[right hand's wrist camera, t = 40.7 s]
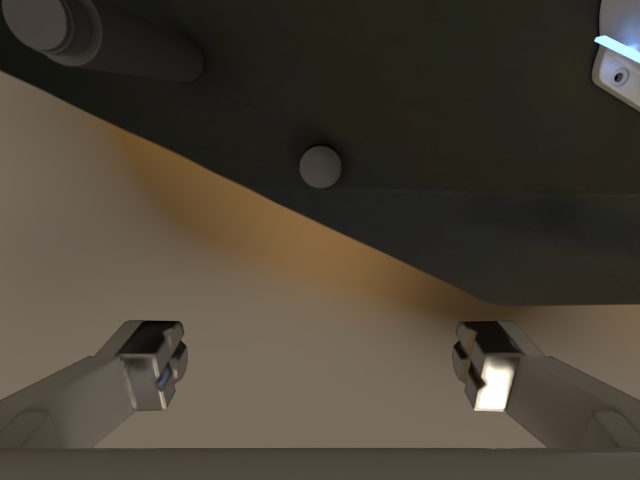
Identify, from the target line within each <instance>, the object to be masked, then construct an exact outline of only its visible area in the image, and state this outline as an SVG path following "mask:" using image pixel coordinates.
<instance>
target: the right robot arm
mask: <svg viewBox="0 0 640 480" xmlns="http://www.w3.org/2000/svg"><path fill="white" fill-rule="evenodd" d="M599 33H600V37H597V38H596V39H595V41H596V42H598V43H600V44H599V50H598V53H597V56H596V59H595V62H594V65H593V69H592V80H593V82H594V83H595V84H596V85H597V86H599V87H600V88H602V89H603V90H605V91H607V92H608V93H610V94H612V95H613V96H615V97H616V98H618V99H620V100H621V101H623V102H624V103H626V104H628V105H629V106H631V107H633V108H634V109H636V110H637V111H639V112H640V0H602V1H601V6H600V14H599ZM616 74H617V76H618V77H617V80H616V81H615V80H614V77H615V75H616ZM183 335H184V330H183V325H182V323H181V322H179V321H144V320H130V321H126V322H124V323H123V325H122V326H121V327H120V328H119V329H118V330H117V331H116V332H115V333H114V334H113V336H112V337H111V338H110V339H109V340H108V341H107V342H106V343H105V344H104V346H103V347H102V348H101V349H100V350H99V351H98V352H97V353H96V355H95V356H88V357H86V358H84V359H82V360H80V361H78V362H76V363H74V364H72V365H70V366H68V367H66V368H64V369H62V370H60V371H58V372H56V373H54V374H52V375H50V376H48V377H46V378H44V379H42V380H40V381H38V382H36V383H34V384H32V385H30V386H28V387H26V388H24V389H22V390H20V391H18V392H16V393H14V394H12V395H10V396H8V397H6V398H4V399H2V400H0V480H640V400H638V399H636V398H634V397H632V396H630V395H628V394H626V393H624V392H622V391H620V390H618V389H616V388H614V387H612V386H610V385H608V384H606V383H604V382H602V381H600V380H598V379H596V378H594V377H592V376H590V375H588V374H586V373H584V372H582V371H580V370H578V369H576V368H574V367H572V366H570V365H568V364H566V363H564V362H562V361H560V360H558V359H556V358H554V357H552V356H545V355H544V353H543V352H542V351H541V350H540V349H539V348H538V347H537V346H536V345H535V343H534V342H533V341H532V340H531V339H530V338H529V337H528V336H527V335H526V333H525V332H524V331H523V330H522V329H521V328H520V327H519V326H518V324H517V323H516V322H514V321H512V320H502V321H471V322H459V323H458V326H457V329H456V335H457V336H458V338H459V341H458V342H457V343H456V344H455V345H454V347H453V355H452V357H453V366H454V370H455V373H456V375H457V377H458V379H459V380H460V381H462V382H463V383H465V384H466V386H465V393H466V395H467V397H468V399H469V401H470V403H471V405H472V407H473V409H474V410H478V411H506V413H507V414H508V415H509V416H510V417H512V418H513V419H514V420H515V421H516V422H518V423H519V424H520V425H521V426H522V427H524V428H525V429H526V430H527V431H528V432H529V433H531V434H532V435H533V436H534V437H535V438H537V439H538V440H539V441H540V442H541V443H543V444H544V445H545V446H546V447H547V448H93V447H94V446H95V445H96V444H98V443H99V442H100V441H101V440H102V439H103V438H105V437H106V436H107V435H108V434H109V433H111V432H112V431H113V430H114V429H115V428H117V427H118V426H119V425H120V424H121V423H123V422H124V421H125V420H126V419H127V418H129V417H130V416H131V415H132V414H133V413H134V411H160V410H166V409H167V407H168V405H169V403H170V401H171V399H172V397H173V395H174V393H175V386H174V384H175V383H177V382H178V381H180V380H181V379H182V377H183V375H184V373H185V370H186V365H187V347H186V345H185V344H184V343H183V342H182V341H181V338H182V337H183Z"/></svg>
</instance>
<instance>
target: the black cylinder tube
mask: <svg viewBox="0 0 640 480" xmlns="http://www.w3.org/2000/svg"><path fill="white" fill-rule="evenodd" d="M2 11H3V15H4V18H5V21H6V23H7V25H8V27H9V28H10V30H11V31H12V33H13V34H14V35H15V36H16V37H17V38H18V39H19V40H20V41H21V42H22V43H24V44H25V45H27V46H29V47H30V48H32V49H34V50H36V51H38V52H40V53H43V54H44V55H46V56H47V57H48V58H50V59H51V60H53V61H55V62H57V63H59V64H62V65H65V66H71V67H78V68H85V69H92V70H100V71H107V72H114V73H121V74H128V75H135V76H142V77H150V78H157V79H164V80H171V81H178V82H192V81H194V80H196V79H197V78H198V77H199V76H200V74H201V73H202V70H203V66H204V60H203V55H202V52H201V50H200V48H199V47H198V46H197V45H196V43H194V42H193V41H192V40H190V39H188V38H186V37H184V36H182V35H180V34H178V33H176V32H174V31H172V30H169V29H167V28H165V27H163V26H161V25H159V24H157V23H155V22H153V21H151V20H149V19H146V18H144V17H142V16H140V15H138V14H136V13H134V12H132V11H130V10H128V9H125V8H123V7H121V6H119V5H117V4H115V3H113V2H111V1H109V0H2Z"/></svg>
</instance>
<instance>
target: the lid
mask: <svg viewBox="0 0 640 480" xmlns="http://www.w3.org/2000/svg"><path fill="white" fill-rule="evenodd" d="M299 169H300V174H301V176H302V178H303V180H304V181H305V182H306V183H307V184H308V185H310V186H312V187H315V188H326V187H329V186H331V185H333V184H334V183H335V182H336V181H337V180H338V178H339V176H340V174H341V170H342V164H341V160H340V157H339V155H338V153H337V152H336V150H335V149H334V148H332V147H331V146H329V145H327V144H315V145H312V146H310V147H309V148H307V149H306V150H305V152H304V153H303V155H302V158H301V161H300V166H299Z"/></svg>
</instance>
